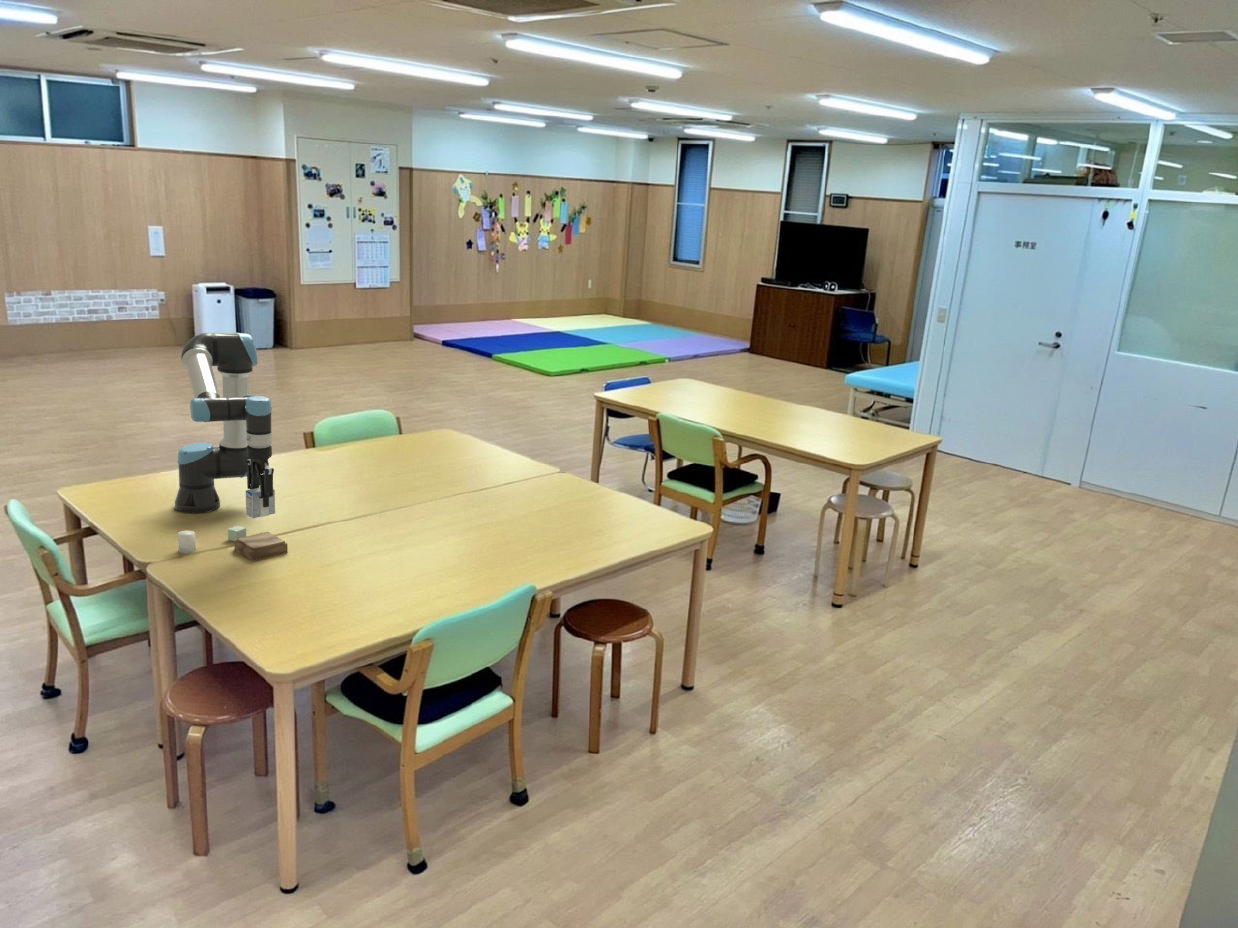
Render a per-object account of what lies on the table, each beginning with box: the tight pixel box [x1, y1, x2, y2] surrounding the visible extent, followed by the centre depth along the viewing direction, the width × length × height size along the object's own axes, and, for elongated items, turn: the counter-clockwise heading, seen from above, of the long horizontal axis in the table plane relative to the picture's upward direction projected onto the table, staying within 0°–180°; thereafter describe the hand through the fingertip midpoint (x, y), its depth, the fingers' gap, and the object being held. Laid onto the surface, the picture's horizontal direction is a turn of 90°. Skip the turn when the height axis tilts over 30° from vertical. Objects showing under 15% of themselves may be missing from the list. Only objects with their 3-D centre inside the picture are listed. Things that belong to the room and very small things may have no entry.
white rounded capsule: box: [177, 530, 196, 554], centre depth 294 cm, size 5×5×6 cm
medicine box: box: [245, 487, 276, 519], centre depth 295 cm, size 8×4×9 cm, turn 140°
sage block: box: [227, 525, 247, 543], centre depth 307 cm, size 4×4×4 cm
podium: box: [234, 531, 289, 562], centre depth 299 cm, size 12×12×4 cm
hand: (260, 513), depth 296 cm, fingers closed on medicine box, 4 cm apart
